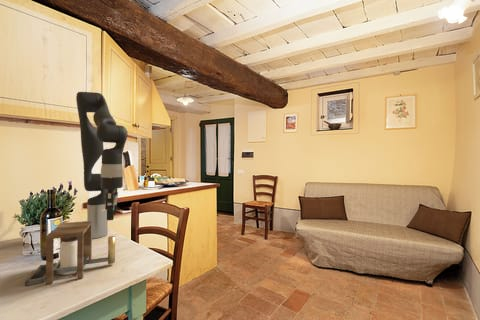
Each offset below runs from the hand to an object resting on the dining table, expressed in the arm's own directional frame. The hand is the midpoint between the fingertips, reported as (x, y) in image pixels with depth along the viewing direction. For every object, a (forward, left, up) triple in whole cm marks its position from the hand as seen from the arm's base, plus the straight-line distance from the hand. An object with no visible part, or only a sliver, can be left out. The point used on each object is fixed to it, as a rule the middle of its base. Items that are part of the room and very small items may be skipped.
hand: (111, 217), depth 89 cm
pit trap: (0, -21, -19) cm, 28 cm away
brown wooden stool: (0, -13, -19) cm, 23 cm away
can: (0, -13, -19) cm, 23 cm away
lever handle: (0, -8, -18) cm, 20 cm away
